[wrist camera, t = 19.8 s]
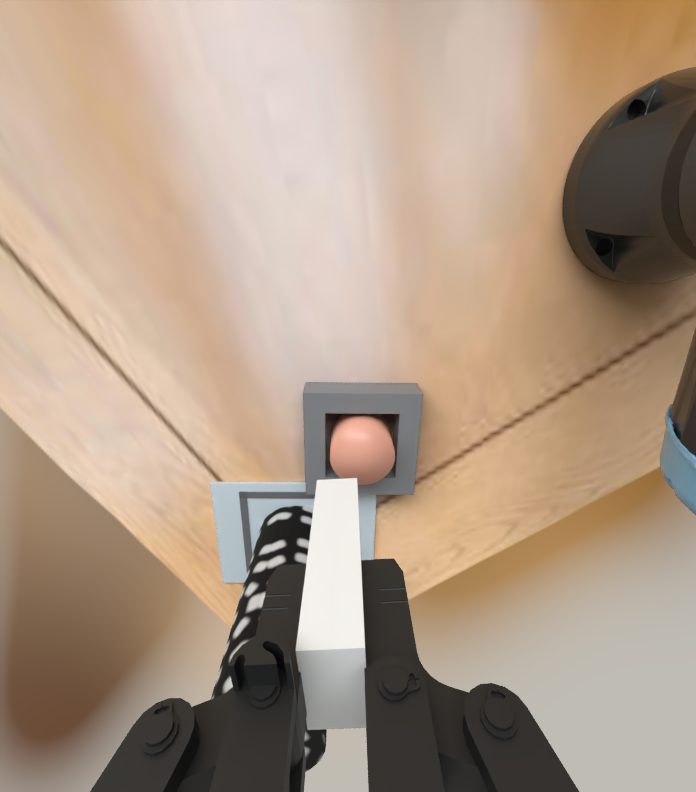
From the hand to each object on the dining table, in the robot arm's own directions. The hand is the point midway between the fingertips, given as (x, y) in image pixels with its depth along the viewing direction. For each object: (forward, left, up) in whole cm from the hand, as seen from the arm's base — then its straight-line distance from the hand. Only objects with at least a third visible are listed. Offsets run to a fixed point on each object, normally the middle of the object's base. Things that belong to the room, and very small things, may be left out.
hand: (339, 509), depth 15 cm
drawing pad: (+5, +22, -24) cm, 33 cm away
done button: (-2, +9, -24) cm, 25 cm away
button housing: (-2, +9, -24) cm, 26 cm away
